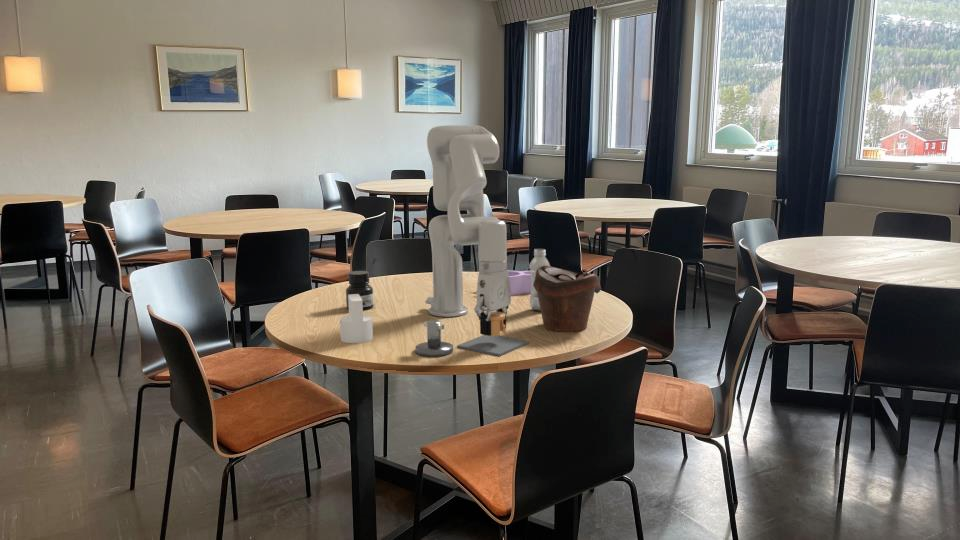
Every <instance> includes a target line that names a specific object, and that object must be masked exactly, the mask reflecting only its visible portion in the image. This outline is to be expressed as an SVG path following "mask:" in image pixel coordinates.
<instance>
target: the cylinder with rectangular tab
mask: <svg viewBox="0 0 960 540" xmlns="http://www.w3.org/2000/svg"><path fill="white" fill-rule="evenodd" d="M348 304H349V309H348V315H344V316H341V317H340V318H339V330H340V331H339V333H340V341H341V342H342V343H347V344H362V343H367V342H370V341H372V340H373V339H374V335H373V334H374V333H373V332H374V331H373V317H372V316H371V315H369V314H364V310H363V304H362V299H361V297H360V295H359V294H350V295H348Z"/></svg>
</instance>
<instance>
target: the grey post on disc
mask: <svg viewBox="0 0 960 540" xmlns="http://www.w3.org/2000/svg"><path fill="white" fill-rule="evenodd" d="M441 323H442V322H441V320H439V319H437V320H435V319H433V320H427V321H424V322H423V327H426V333H427V335H426V336H427V338H426V340H427V341H425V342H422V343H419V344H417V345H416V346H415V353H416V355H419V356H422V357H426V358H427V357H428V358H438V357H445V356H448V355H450V354H451V355H452V354H453V352H454V344H452V343H449V342H447V341H446V342H445V341H442V330H444V329H445V324H441Z"/></svg>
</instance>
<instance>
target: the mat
mask: <svg viewBox="0 0 960 540" xmlns="http://www.w3.org/2000/svg"><path fill="white" fill-rule="evenodd" d="M529 343H530V341H529V340H524V339H520V338H519V339H518V338H515V337H508V336H502V335H500V336H487V335H483V334H481V335H479V336H477V337H475V338H472V339H470V340H467V341H465V342H462V343H460V344H458V345H457V346H456V348H458V349H462V350H467V351H473V352H476V353H477V352H478V353H482V354H486V355H487V354H488V355H491V356H498V357H502V356H504V355H506V354H508V353H510V352H513V351H515V350H518V349H520V348H522V347H524V346H526V345H528V344H529Z"/></svg>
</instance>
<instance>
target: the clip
mask: <svg viewBox="0 0 960 540" xmlns="http://www.w3.org/2000/svg"><path fill="white" fill-rule="evenodd" d="M507 270H508V269H507ZM508 274H509V281H510V293H511V296H518V295H521V294H522V295H523V294H531V286H532V285H531V283H532V282H531V274H530V270H508Z"/></svg>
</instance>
